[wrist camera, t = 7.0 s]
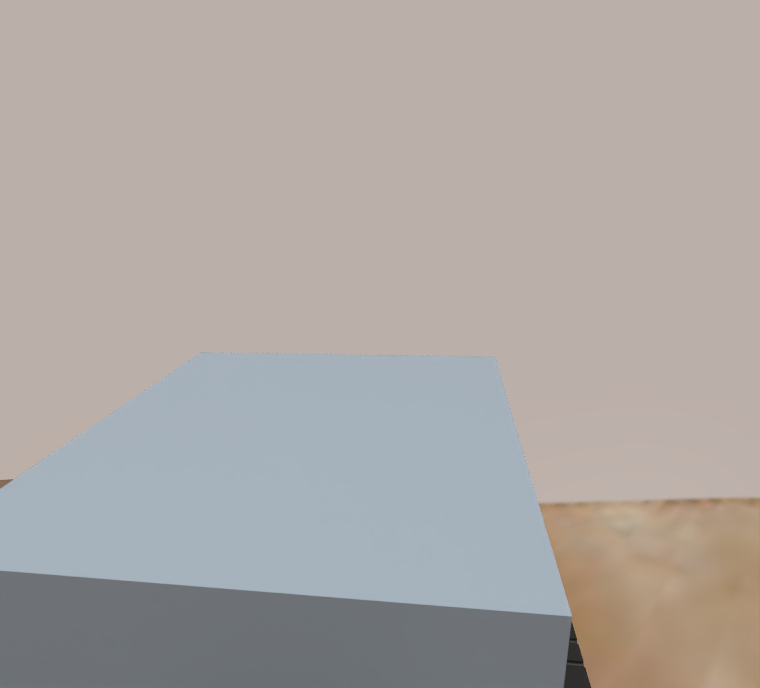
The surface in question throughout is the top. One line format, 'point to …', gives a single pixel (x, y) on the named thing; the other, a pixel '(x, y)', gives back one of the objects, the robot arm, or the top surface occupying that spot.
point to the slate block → (286, 535)
